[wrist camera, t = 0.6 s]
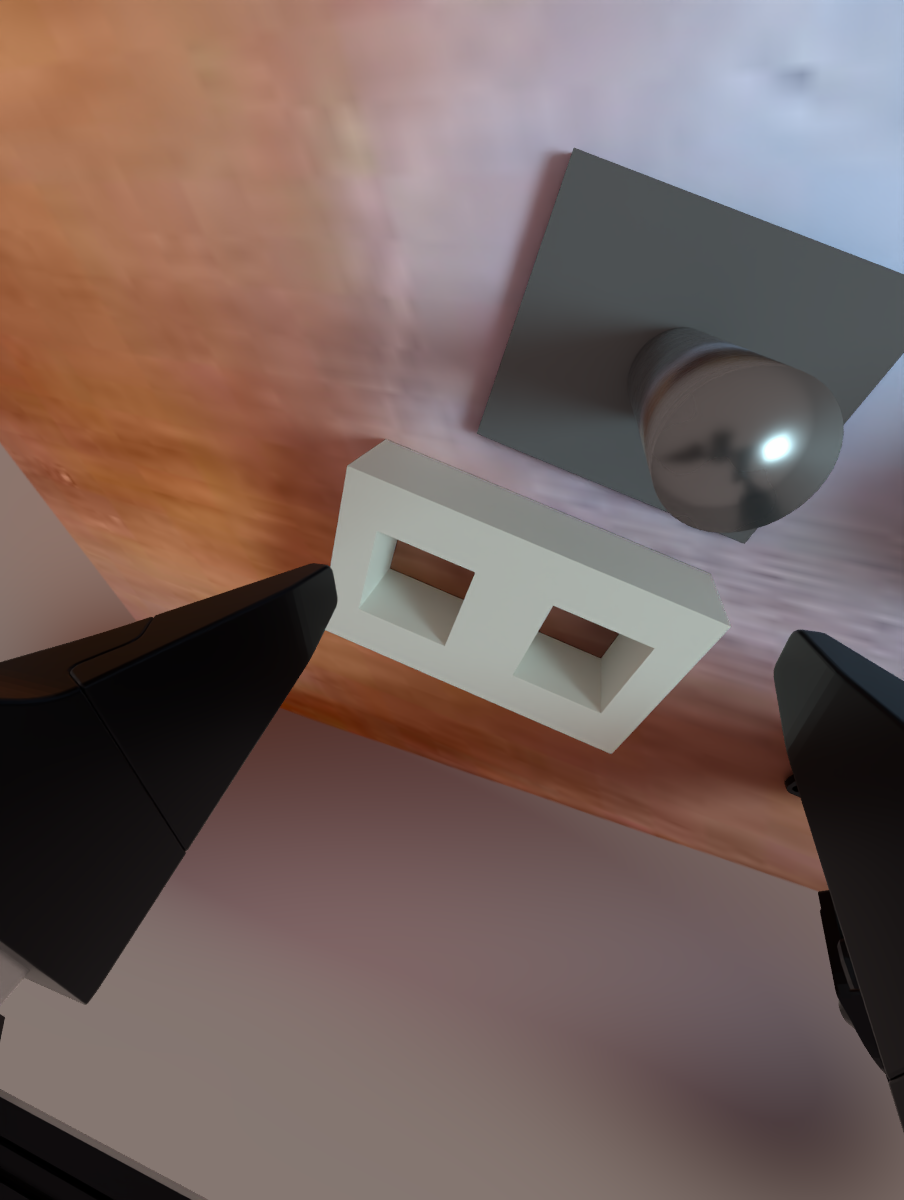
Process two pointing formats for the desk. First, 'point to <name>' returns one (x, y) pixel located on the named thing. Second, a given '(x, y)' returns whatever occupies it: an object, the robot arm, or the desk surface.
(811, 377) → the peg
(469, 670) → the hole block
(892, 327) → the mat
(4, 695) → the robot arm
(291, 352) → the desk surface
